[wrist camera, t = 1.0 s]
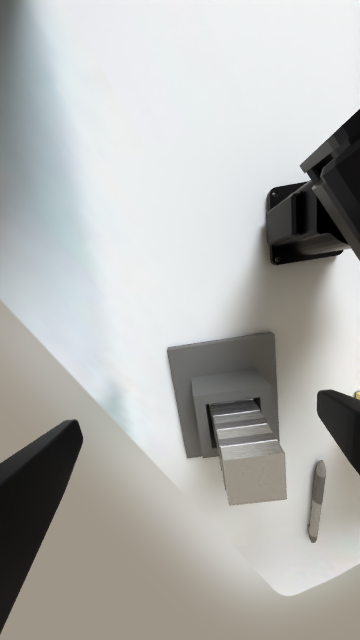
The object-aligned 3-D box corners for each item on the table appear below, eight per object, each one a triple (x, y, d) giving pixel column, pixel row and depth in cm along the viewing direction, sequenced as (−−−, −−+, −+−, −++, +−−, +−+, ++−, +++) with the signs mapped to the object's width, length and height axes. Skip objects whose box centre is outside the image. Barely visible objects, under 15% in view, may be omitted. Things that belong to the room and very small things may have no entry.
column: (245, 384, 20) (285, 452, 12) (247, 416, 21) (287, 499, 13) (206, 389, 20) (222, 459, 12) (211, 421, 21) (228, 506, 13)
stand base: (270, 332, 20) (298, 349, 15) (276, 440, 23) (300, 483, 18) (167, 347, 20) (163, 368, 15) (187, 452, 23) (188, 496, 19)
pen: (304, 532, 27) (310, 546, 25) (312, 453, 24) (321, 464, 22) (311, 532, 27) (318, 546, 25) (320, 453, 24) (329, 464, 22)
